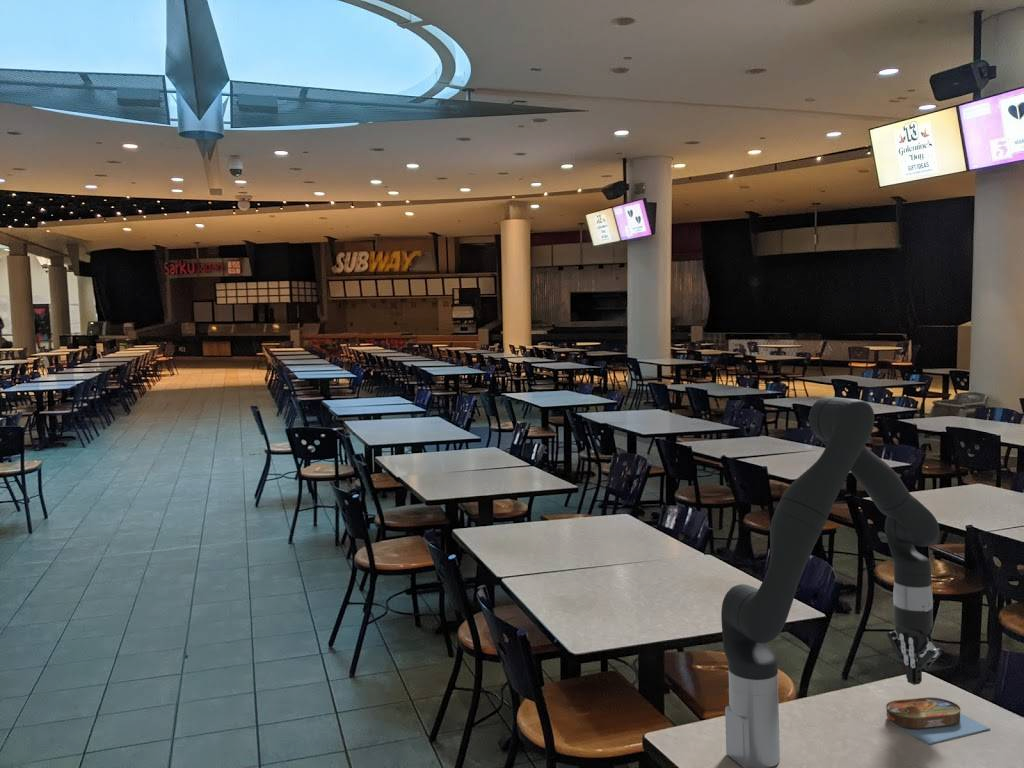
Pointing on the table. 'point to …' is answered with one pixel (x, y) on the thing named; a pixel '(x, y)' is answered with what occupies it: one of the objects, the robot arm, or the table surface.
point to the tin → (923, 713)
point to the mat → (947, 730)
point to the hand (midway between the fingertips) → (914, 683)
